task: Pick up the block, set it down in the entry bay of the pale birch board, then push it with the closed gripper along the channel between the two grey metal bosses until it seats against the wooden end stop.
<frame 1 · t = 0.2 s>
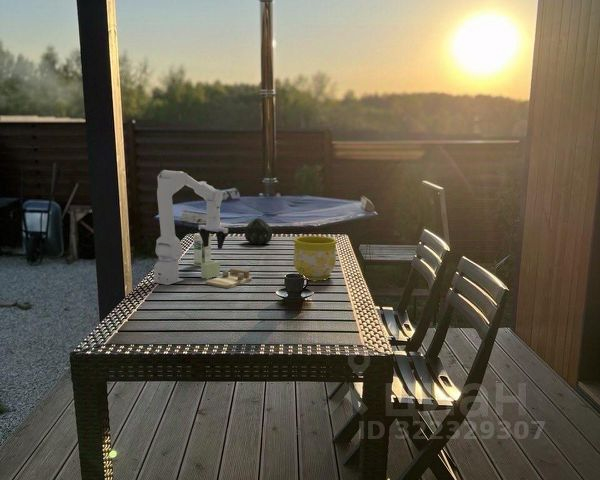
hand: (213, 247, 255), 10 cm above the table, tool pointing down, fingers open, 7 cm apart
printed cardboard box: (202, 265, 265), on the table
board: (229, 282, 237), on the table
block: (210, 276, 245), on the table
flowerpot: (313, 278, 248), on the table
squash: (258, 244, 320), on the table
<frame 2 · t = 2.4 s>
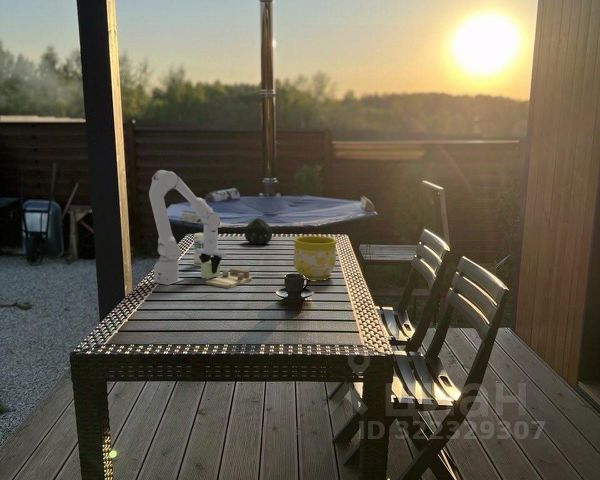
hand: (210, 272, 245), 2 cm above the table, tool pointing down, fingers closed on block, 3 cm apart
block: (210, 276, 245), on the table, touching gripper
everything else where it was.
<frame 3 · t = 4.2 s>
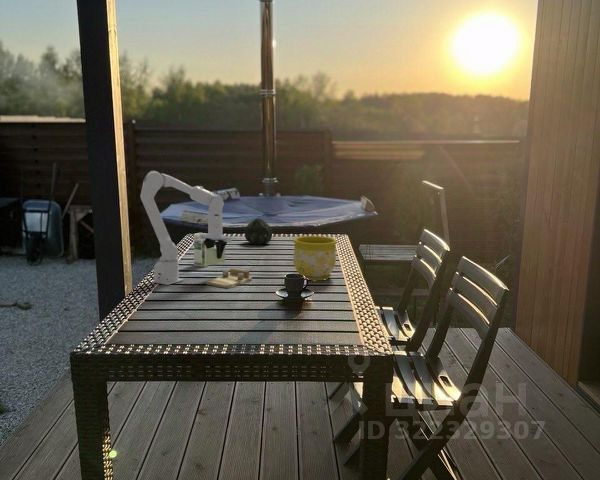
hand: (215, 257, 240), 9 cm above the table, tool pointing down, fingers closed on block, 3 cm apart
block: (215, 262, 240), point 7 cm above the table, touching gripper
everything else where it was.
when the fingers open (4 cm above the table, at t = 6.0 s): block stays where it is, resting on board.
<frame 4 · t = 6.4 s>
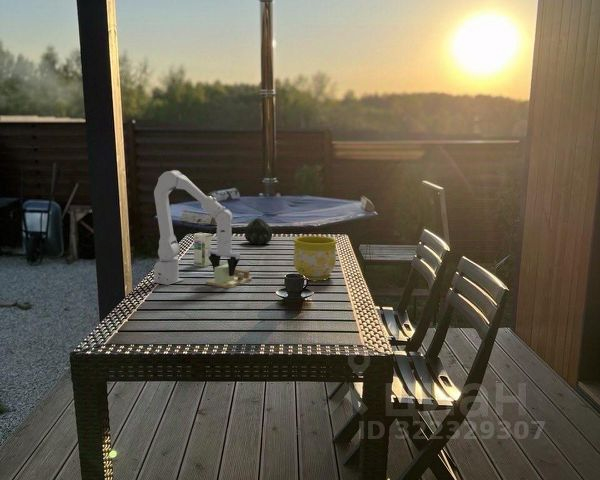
hand: (223, 274, 233), 4 cm above the table, tool pointing down, fingers open, 7 cm apart
block: (224, 280, 234), point 1 cm above the table, touching board
everything else where it was.
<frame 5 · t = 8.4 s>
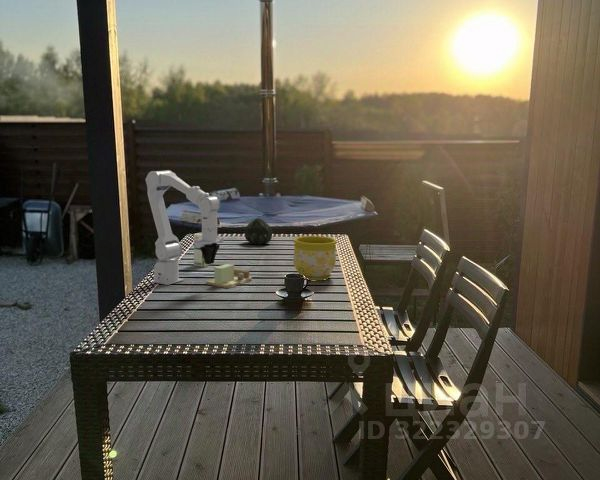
hand: (209, 263, 224), 10 cm above the table, tool pointing down, fingers closed
nothing on the table moved.
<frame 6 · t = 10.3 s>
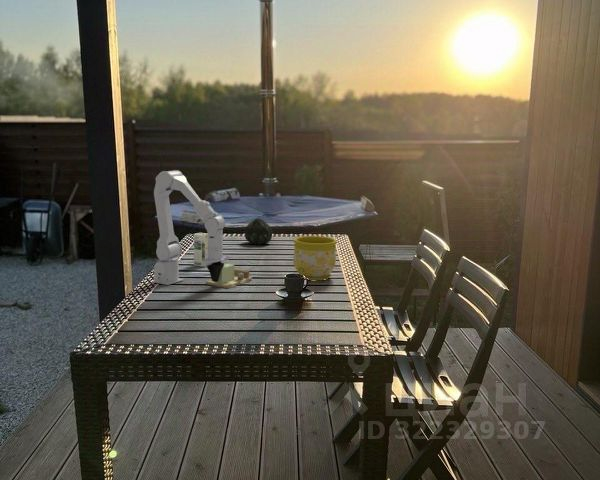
hand: (215, 281, 229), 2 cm above the table, tool pointing down, fingers closed
block: (224, 280, 234), point 1 cm above the table, touching gripper
everything else where it was.
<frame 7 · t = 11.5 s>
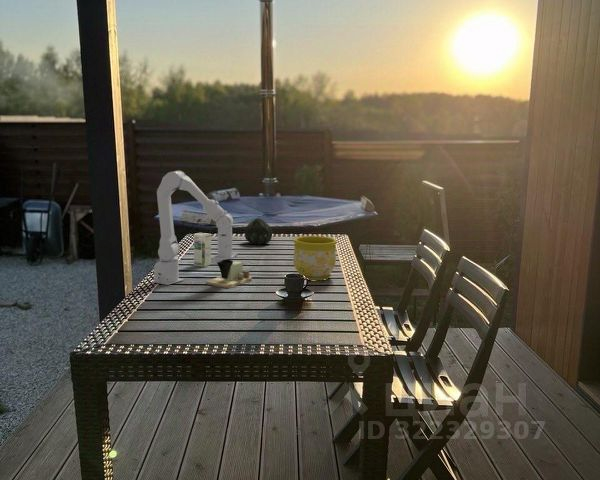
hand: (224, 278, 234), 2 cm above the table, tool pointing down, fingers closed
block: (233, 278, 239), point 1 cm above the table, touching board, gripper
everything else where it was.
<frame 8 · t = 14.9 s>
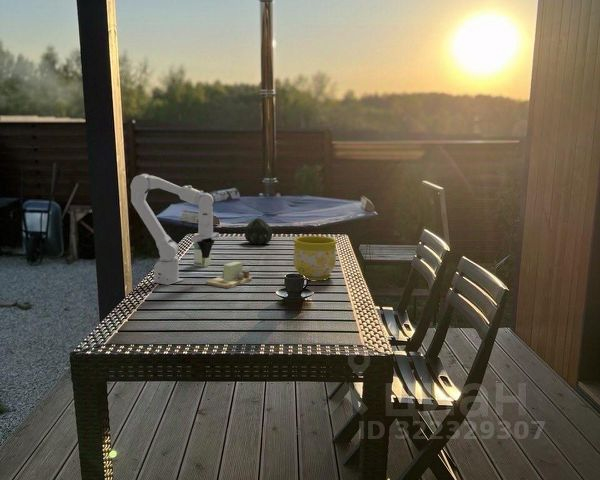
hand: (205, 257, 235), 10 cm above the table, tool pointing down, fingers closed
block: (233, 278, 239), point 1 cm above the table, touching board
everything else where it was.
at the end: block 0.3 cm from the target spot on the board, point 1.2 cm above the board's base; block tilted 0° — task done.
